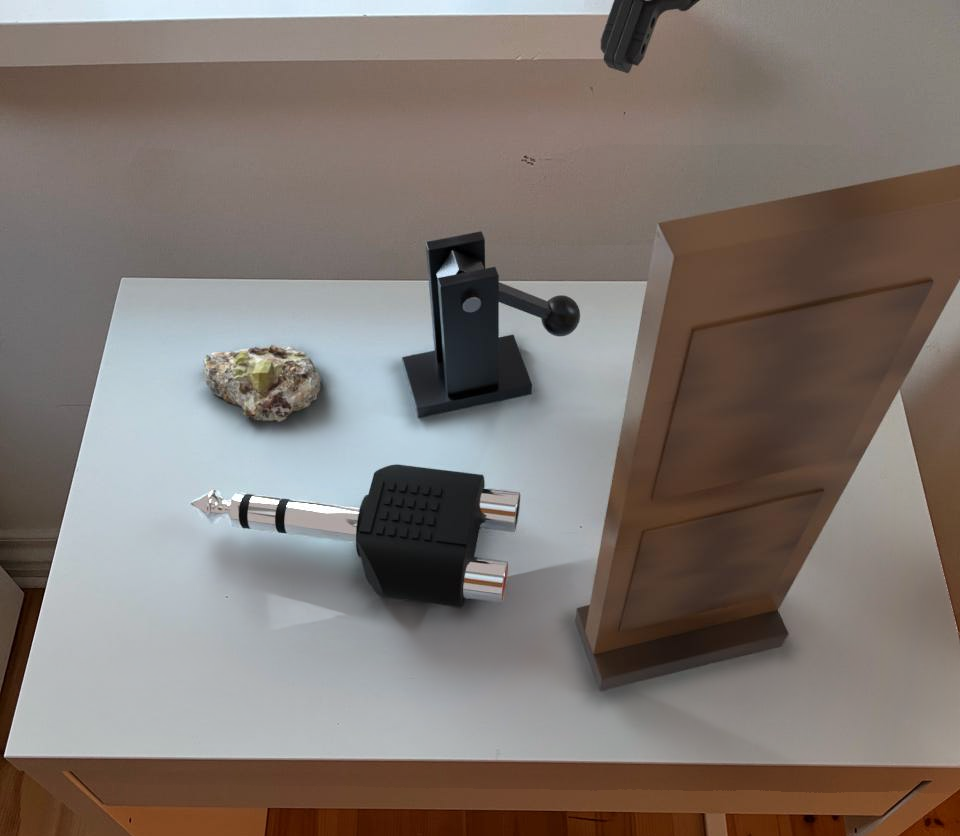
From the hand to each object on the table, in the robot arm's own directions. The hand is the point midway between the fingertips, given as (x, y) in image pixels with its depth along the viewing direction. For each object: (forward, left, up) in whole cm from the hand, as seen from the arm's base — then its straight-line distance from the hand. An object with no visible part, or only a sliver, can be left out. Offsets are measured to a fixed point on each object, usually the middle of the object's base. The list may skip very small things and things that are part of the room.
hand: (615, 66), depth 63 cm
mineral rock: (+29, 0, -23) cm, 37 cm away
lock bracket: (+12, +4, -23) cm, 26 cm away
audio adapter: (+25, +18, -23) cm, 38 cm away
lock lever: (+9, +4, -16) cm, 19 cm away
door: (+3, +32, -23) cm, 39 cm away
